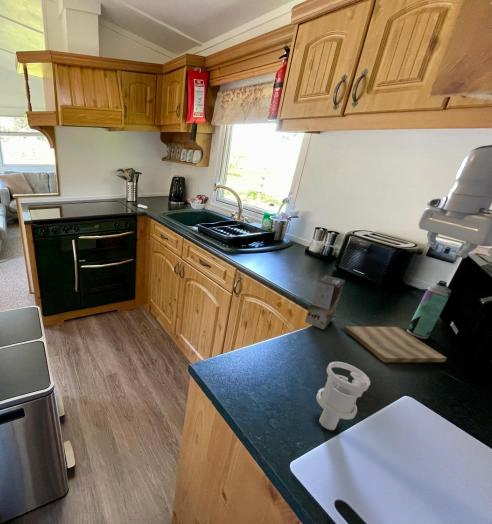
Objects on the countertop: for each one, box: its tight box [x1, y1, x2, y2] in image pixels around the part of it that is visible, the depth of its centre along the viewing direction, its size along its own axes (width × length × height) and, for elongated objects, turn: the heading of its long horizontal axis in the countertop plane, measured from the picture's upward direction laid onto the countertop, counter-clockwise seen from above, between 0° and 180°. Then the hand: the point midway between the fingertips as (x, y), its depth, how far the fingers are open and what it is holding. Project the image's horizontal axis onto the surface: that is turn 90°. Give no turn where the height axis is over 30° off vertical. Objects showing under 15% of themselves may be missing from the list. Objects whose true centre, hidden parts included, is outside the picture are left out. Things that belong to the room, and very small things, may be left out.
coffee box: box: [304, 274, 346, 330], centre depth 99 cm, size 9×6×16 cm
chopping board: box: [343, 325, 448, 363], centre depth 92 cm, size 20×16×2 cm
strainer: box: [315, 361, 371, 431], centre depth 60 cm, size 7×7×15 cm
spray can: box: [406, 280, 452, 340], centre depth 96 cm, size 6×6×20 cm
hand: (445, 251), depth 86 cm, fingers open, 8 cm apart
